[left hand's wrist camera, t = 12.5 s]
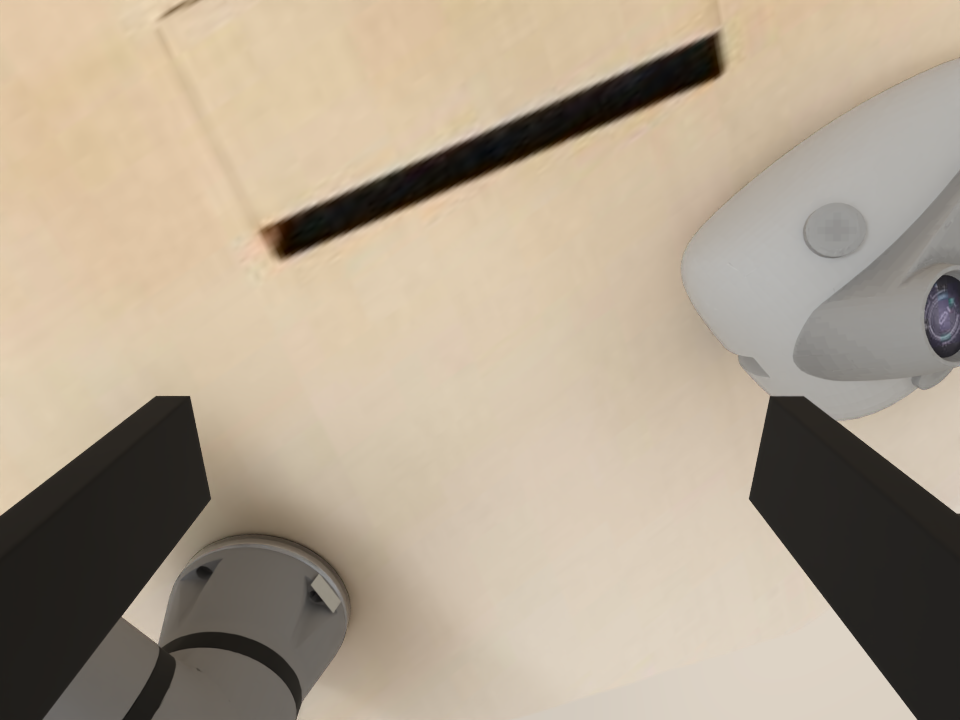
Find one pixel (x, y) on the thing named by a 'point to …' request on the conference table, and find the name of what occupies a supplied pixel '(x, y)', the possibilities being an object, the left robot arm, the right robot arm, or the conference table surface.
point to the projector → (845, 255)
